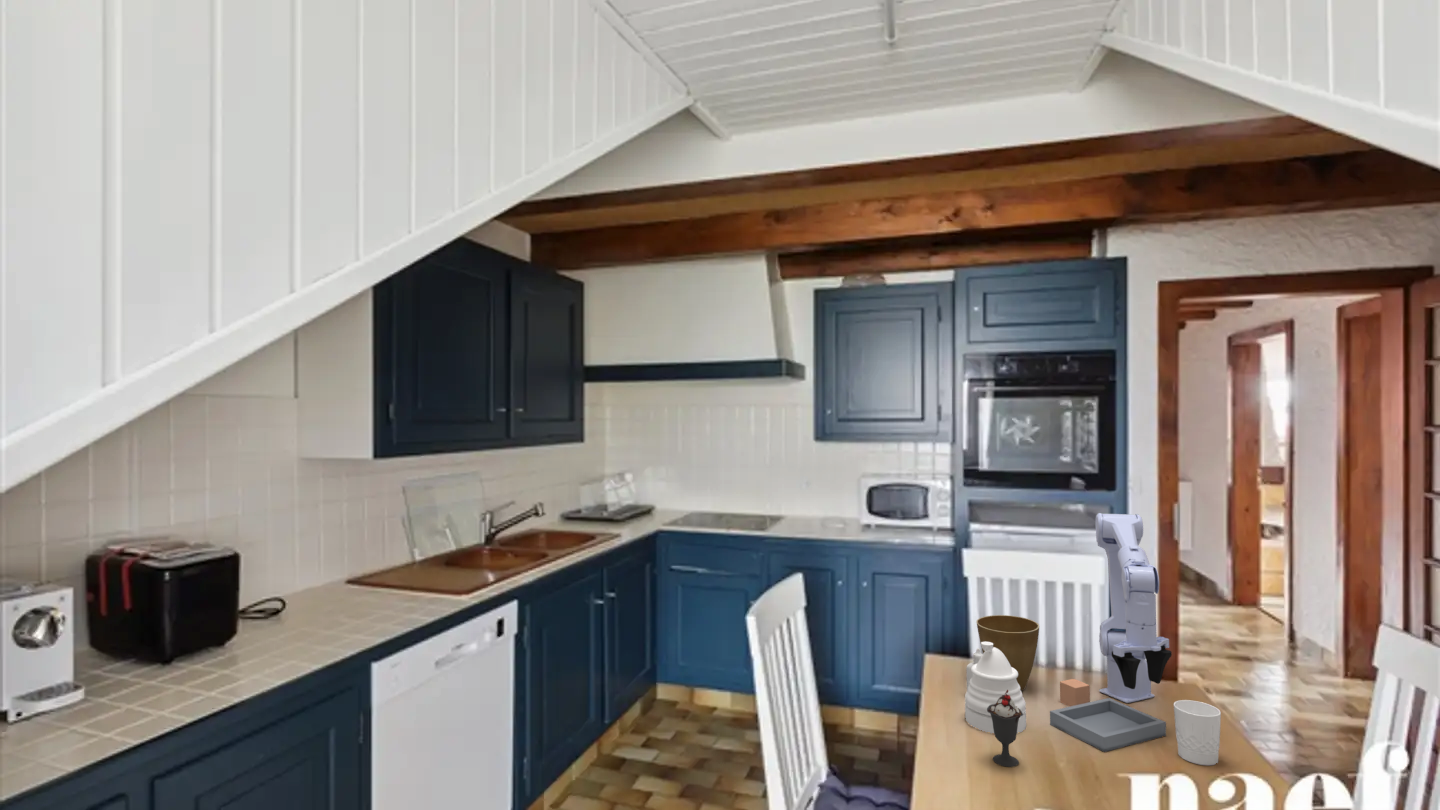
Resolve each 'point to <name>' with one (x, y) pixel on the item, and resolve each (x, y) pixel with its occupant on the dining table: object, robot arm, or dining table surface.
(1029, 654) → the plant pot
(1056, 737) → the dining table surface
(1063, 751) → the dining table surface
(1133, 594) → the robot arm
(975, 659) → the eye dropper bottle
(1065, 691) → the block
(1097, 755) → the dining table surface
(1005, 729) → the sundae
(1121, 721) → the tray
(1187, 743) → the white cup
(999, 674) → the honey pot
